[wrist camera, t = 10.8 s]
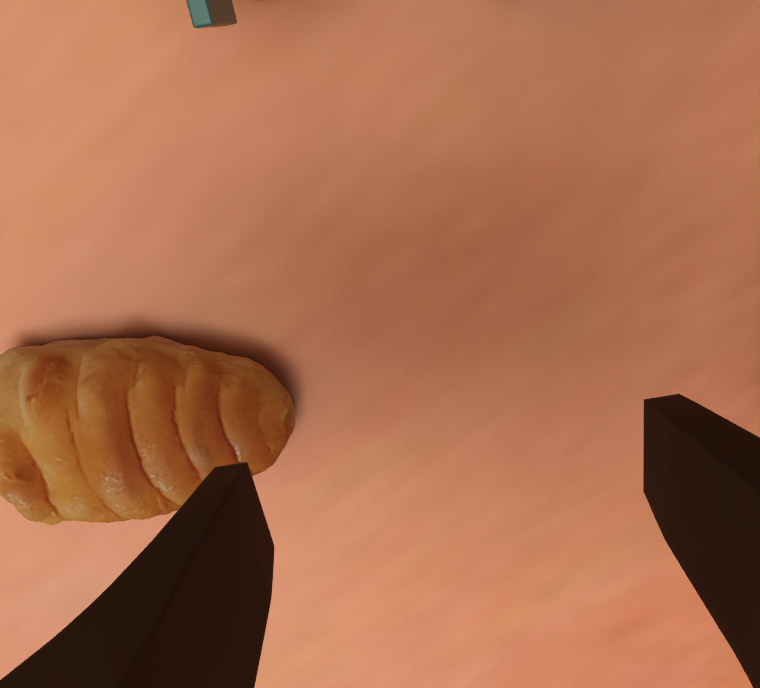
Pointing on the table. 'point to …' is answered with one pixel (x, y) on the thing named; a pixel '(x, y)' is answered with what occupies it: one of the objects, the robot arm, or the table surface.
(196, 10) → the marker
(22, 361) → the pastry
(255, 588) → the robot arm
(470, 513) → the table surface
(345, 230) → the table surface
